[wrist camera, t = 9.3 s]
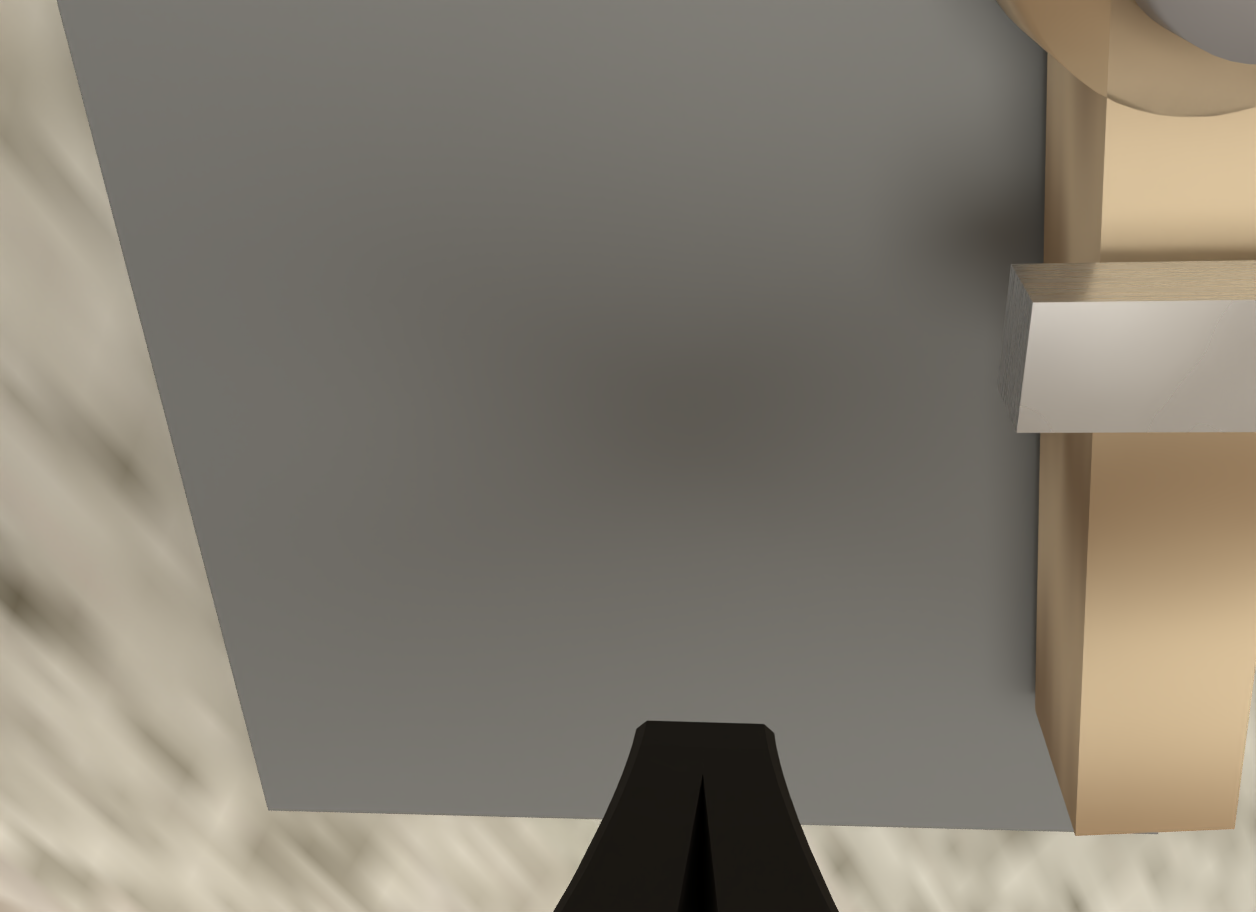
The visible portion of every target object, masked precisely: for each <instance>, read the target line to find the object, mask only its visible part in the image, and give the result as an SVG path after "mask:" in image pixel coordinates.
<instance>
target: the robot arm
mask: <svg viewBox="0 0 1256 912" xmlns="http://www.w3.org/2000/svg"><path fill="white" fill-rule="evenodd" d="M553 912H839V911H838V909H837V907H836V905H835V903H834V901H833V899H832V897H831V894H830V892H829V890H828V888H827V885H826V883H825V881H824V879H823V876H822V874H821V872H820V870H819V867H818V865H817V863H816V861H815V858H814V856H813V854H812V852H811V850H810V847H809V845H808V842H807V840H806V837H805V835H804V832H803V830H802V827H801V825H800V822H799V819H798V816H797V814H796V811H795V808H794V805H793V802H792V800H791V797H790V794H789V791H788V788H787V784H786V781H785V778H784V775H783V771H782V768H781V764H780V760H779V755H778V751H777V747H776V741H775V734H774V732H773V731H771V730H770V729H769V728H768V727H767V726H766V725H765V724H751V723H717V722H683V721H648V720H647V721H646V722H644V723H643V724H642V725H640V726H639V727H638V728H636V732H635V736H634V740H633V744H632V747H631V750H630V753H629V756H628V759H627V762H626V765H625V767H624V770H623V773H622V775H621V778H620V780H619V783H618V785H617V788H616V790H615V792H614V795H613V797H612V799H611V802H610V804H609V806H608V808H607V811H606V813H605V815H604V817H603V820H602V822H601V824H600V826H599V828H598V830H597V832H596V834H595V835H594V837H593V839H592V841H591V843H590V845H589V847H588V849H587V851H586V853H585V855H584V857H583V859H582V861H581V863H580V865H579V867H578V869H577V871H576V873H575V875H574V877H573V879H572V880H571V882H570V884H569V886H568V888H567V889H566V891H565V893H564V894H563V896H562V898H561V899H560V901H559V903H558V905H557V906H556V908H555V910H554V911H553Z"/></svg>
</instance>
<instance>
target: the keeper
mask: <svg viewBox="0 0 1256 912" xmlns="http://www.w3.org/2000/svg"><path fill="white" fill-rule="evenodd" d="M997 388H998V391H999V393H1000V395H1001V398H1002V400H1003V402H1004V405H1005V407H1006V409H1007V412H1008V414H1009V416H1010V419H1011V421H1012V423H1013V426H1014V428H1015V430H1016V433H1125V432H1256V260H1239V261H1173V262H1107V263H1042V264H1011V269H1010V278H1009V286H1008V295H1007V304H1006V312H1005V321H1004V330H1003V338H1002V347H1001V356H1000V365H999V373H998V382H997Z"/></svg>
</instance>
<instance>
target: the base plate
mask: <svg viewBox="0 0 1256 912" xmlns="http://www.w3.org/2000/svg"><path fill="white" fill-rule="evenodd" d="M1135 1H1136V3H1137V4H1138V6H1139V7H1140V8H1141V9H1142V10H1143V11H1144V12H1145V13H1146V14H1147V15H1148V16H1149V17H1150V18H1151V19H1152V20H1154V21H1155V22H1157V23H1158V24H1159V25H1161V26H1162V27H1164V28H1165V29H1167V30H1169V31H1171V32H1172V33H1174V34H1176V35H1178V36H1179V37H1181V38H1183V39H1185V40H1186V41H1188V42H1190V43H1192V44H1193V45H1195V46H1197V47H1199V48H1200V49H1202V50H1204V51H1206V52H1208V53H1210V54H1212V55H1214V56H1217V57H1220V58H1223V59H1226V60H1229V61H1233V62H1238V63H1244V64H1256V0H1135ZM57 3H58V7H59V11H60V15H61V18H62V22H63V26H64V30H65V34H66V37H67V41H68V45H69V49H70V53H71V57H72V60H73V64H74V68H75V72H76V76H77V80H78V83H79V87H80V91H81V95H82V99H83V103H84V106H85V110H86V114H87V118H88V122H89V126H90V129H91V133H92V137H93V141H94V145H95V149H96V152H97V156H98V160H99V164H100V168H101V172H102V175H103V179H104V183H105V187H106V191H107V195H108V198H109V202H110V206H111V210H112V214H113V218H114V221H115V225H116V229H117V233H118V237H119V240H120V244H121V248H122V252H123V256H124V260H125V263H126V267H127V271H128V275H129V279H130V283H131V286H132V290H133V294H134V298H135V302H136V306H137V309H138V313H139V317H140V321H141V325H142V329H143V332H144V336H145V340H146V344H147V348H148V352H149V355H150V359H151V363H152V367H153V371H154V375H155V378H156V382H157V386H158V390H159V394H160V398H161V401H162V405H163V409H164V413H165V417H166V420H167V424H168V428H169V432H170V436H171V440H172V443H173V447H174V451H175V455H176V459H177V463H178V466H179V470H180V474H181V478H182V482H183V486H184V489H185V493H186V497H187V501H188V505H189V509H190V512H191V516H192V520H193V524H194V528H195V532H196V535H197V539H198V543H199V547H200V551H201V555H202V558H203V562H204V566H205V570H206V574H207V578H208V581H209V585H210V589H211V593H212V597H213V600H214V604H215V608H216V612H217V616H218V620H219V623H220V627H221V631H222V635H223V639H224V643H225V646H226V650H227V654H228V658H229V662H230V666H231V669H232V673H233V677H234V681H235V685H236V689H237V692H238V696H239V700H240V704H241V708H242V712H243V715H244V719H245V723H246V727H247V731H248V735H249V738H250V742H251V746H252V750H253V754H254V758H255V761H256V765H257V769H258V773H259V777H260V780H261V784H262V788H263V792H264V796H265V800H266V803H267V807H268V810H274V811H311V812H349V813H386V814H423V815H461V816H498V817H535V818H573V819H603V817H604V815H605V813H606V811H607V808H608V806H609V804H610V802H611V799H612V797H613V795H614V792H615V790H616V788H617V785H618V783H619V780H620V778H621V775H622V773H623V770H624V767H625V765H626V762H627V759H628V756H629V753H630V750H631V747H632V744H633V740H634V736H635V732H636V728H638V727H639V726H640V725H642V724H643V723H644V722H646V721H647V720H648V721H683V722H717V723H751V724H765V725H766V726H767V727H768V728H769V729H770V730H771V731H773V732H774V734H775V741H776V747H777V751H778V755H779V760H780V764H781V768H782V771H783V775H784V778H785V781H786V784H787V788H788V791H789V794H790V797H791V800H792V802H793V805H794V808H795V811H796V814H797V816H798V819H799V822H800V825H834V826H872V827H909V828H947V829H984V830H1021V831H1059V832H1074V830H1073V826H1072V823H1071V820H1070V817H1069V814H1068V811H1067V808H1066V805H1065V802H1064V798H1063V795H1062V792H1061V789H1060V786H1059V783H1058V780H1057V777H1056V774H1055V770H1054V767H1053V764H1052V761H1051V758H1050V755H1049V752H1048V749H1047V745H1046V742H1045V739H1044V736H1043V733H1042V730H1041V727H1040V724H1039V721H1038V717H1037V714H1036V711H1035V682H1036V630H1037V578H1038V525H1039V473H1040V433H1016V430H1015V428H1014V426H1013V423H1012V421H1011V419H1010V416H1009V414H1008V412H1007V409H1006V407H1005V405H1004V402H1003V400H1002V398H1001V395H1000V393H999V391H998V388H997V382H998V373H999V365H1000V356H1001V347H1002V338H1003V330H1004V321H1005V312H1006V304H1007V295H1008V286H1009V278H1010V269H1011V264H1042V263H1044V211H1045V159H1046V107H1047V54H1048V53H1047V52H1046V51H1045V50H1044V49H1043V48H1042V47H1041V46H1039V45H1038V44H1037V43H1036V42H1035V41H1034V40H1033V39H1031V38H1030V37H1029V36H1028V35H1027V34H1026V33H1024V32H1023V31H1022V30H1021V29H1020V28H1019V27H1018V26H1017V25H1016V24H1015V23H1014V22H1013V21H1012V20H1011V19H1010V18H1009V17H1008V16H1007V15H1006V13H1005V12H1004V11H1003V9H1002V8H1001V6H1000V5H999V4H998V2H997V1H996V0H57ZM1133 834H1158V832H1150V833H1133Z"/></svg>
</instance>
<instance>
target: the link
mask: <svg viewBox="0 0 1256 912" xmlns="http://www.w3.org/2000/svg"><path fill="white" fill-rule="evenodd" d="M996 1H997V2H998V4H999V5H1000V6H1001V8H1002V9H1003V11H1004V12H1005V13H1006V15H1007V16H1008V17H1009V18H1010V19H1011V20H1012V21H1013V22H1014V23H1015V24H1016V25H1017V26H1018V27H1019V28H1020V29H1021V30H1022V31H1023V32H1024V33H1026V34H1027V35H1028V36H1029V37H1030V38H1031V39H1033V40H1034V41H1035V42H1036V43H1037V44H1038V45H1039V46H1041V47H1042V48H1043V49H1044V50H1045V51H1046V52H1047V53H1048V54H1047V107H1046V159H1045V211H1044V263H1107V262H1173V261H1239V260H1256V64H1244V63H1238V62H1233V61H1229V60H1226V59H1223V58H1220V57H1217V56H1214V55H1212V54H1210V53H1208V52H1206V51H1204V50H1202V49H1200V48H1199V47H1197V46H1195V45H1193V44H1192V43H1190V42H1188V41H1186V40H1185V39H1183V38H1181V37H1179V36H1178V35H1176V34H1174V33H1172V32H1171V31H1169V30H1167V29H1165V28H1164V27H1162V26H1161V25H1159V24H1158V23H1157V22H1155V21H1154V20H1152V19H1151V18H1150V17H1149V16H1148V15H1147V14H1146V13H1145V12H1144V11H1143V10H1142V9H1141V8H1140V7H1139V6H1138V4H1137V3H1136V1H1135V0H996ZM1255 666H1256V432H1125V433H1040V473H1039V525H1038V578H1037V630H1036V682H1035V711H1036V714H1037V717H1038V721H1039V724H1040V727H1041V730H1042V733H1043V736H1044V739H1045V742H1046V745H1047V749H1048V752H1049V755H1050V758H1051V761H1052V764H1053V767H1054V770H1055V774H1056V777H1057V780H1058V783H1059V786H1060V789H1061V792H1062V795H1063V798H1064V802H1065V805H1066V808H1067V811H1068V814H1069V817H1070V820H1071V823H1072V826H1073V830H1074V833H1075V836H1081V835H1104V834H1127V833H1150V832H1173V831H1196V830H1219V829H1234V828H1235V820H1236V813H1237V805H1238V797H1239V789H1240V782H1241V774H1242V766H1243V759H1244V751H1245V743H1246V735H1247V728H1248V720H1249V712H1250V704H1251V697H1252V689H1253V681H1254V673H1255Z"/></svg>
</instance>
